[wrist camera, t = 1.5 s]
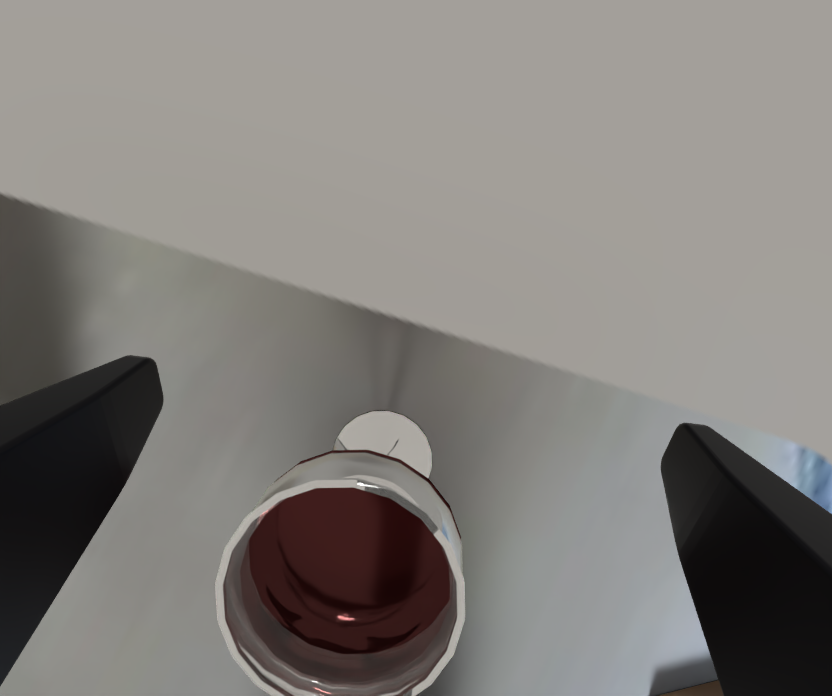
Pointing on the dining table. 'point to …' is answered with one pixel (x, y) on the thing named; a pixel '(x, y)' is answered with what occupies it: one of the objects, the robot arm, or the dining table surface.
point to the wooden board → (699, 690)
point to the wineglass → (347, 571)
